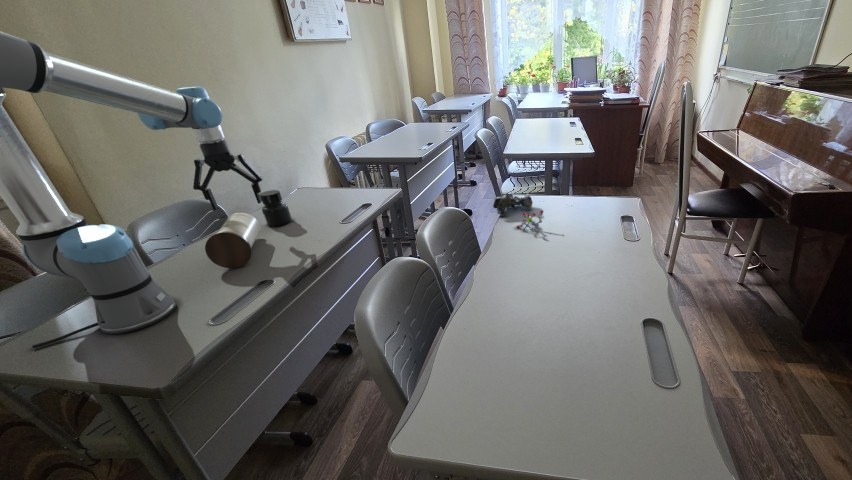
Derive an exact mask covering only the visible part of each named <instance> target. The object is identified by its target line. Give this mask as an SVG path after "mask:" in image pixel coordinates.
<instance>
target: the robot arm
mask: <svg viewBox="0 0 852 480" xmlns="http://www.w3.org/2000/svg"><path fill="white" fill-rule="evenodd" d="M4 89H11V90H18V91H22V92H27V93H30V94H39V93H41V92H44V91H45V92H47V93H48V92H49V93H53V94H56V95H57V94H58V95H62V96H65V97H69V98H74V99H78V100H82V101H86V102H90V103H95V104H99V105H102V106H107V107H110V108H115V109H120V110H123V111H128V112H131V113H136V114H137V116H138V118H139V120H140V121H141V122H142V124H143V125H144V126H145V127H146V128H148V129H149V130H152V131H160V130H166V129H173V128H174V129H175V128H176V129H178V128H180V129H182V128H183V129H189V128H191V129H192V132H193V134H194V137H195V139H196V141H197V142H198V143H199V144H198V146H199V148H200V151H201V153H202V156H203V158H199V157H197V158H195V159H194V160H193V163H194V167H195V170H194V178H193V186H192V188H193V190H195V191H201V192H202V195H203V197H204V199H205V200H206V201H209V203H210V206H211V207H212V209H213V211H215V210H216V211H217V209H218V208H219V206H218V203H217V200H216V199H215V196H214V194H213V192H212V189H211V188H209V187H208V186H209V184H210V183H211V180H212V178H213V176H214V174H215V173H216V172H218V173H219V172H223V171H225V172H227V171H231V170H232V171H233V172H235V173H236V174H238V175H240V176H241V177H242V178H244V179H246V180H247V181H249V182H250V183H251V185H250V187H251V189H252V191H253V194H254V196H255V199H256V201H257V204H261V203H262V200H261V197H260V193H262V188H261V186H260V183H261V182H262V181H263V180H264V177H263V176H262V175H261V174H260V173H259V171H258V170H256V168H255V167H254V166H253V165H252V164H250V162H249V161H248V160H247V159H246V157H245V155H244V153H239V154H236V155H233V154H232V152H231V149H230V147H229V144H228V141H227V140H226V136H225V133H224V131H223V129H222V126H221V123H222V121H223V113H222V109H221V108H220V106H219V105H218V104H217V102H215V101H214V100H212V99H211V98H210V95H209V93H208V91H207V90H206V88H205V87H204V86H199V85H198V86H185V87H178V88H177V89H176V91H173V90H170V89H167V88H164V87H161V86H157V85H154V84H151V83H148V82H145V81H141V80H138V79H135V78H132V77H129V76H126V75H122V74H119V73H117V72H116V73H115V72H112V71H110V70H106V69H103V68H99V67H97V66H93V65H91V64H86V63H84V62H80V61H77V60H74V59H71V58H68V57H64V56H61V55H57V54H54V53H51V52H48V51H45V50H44V49H43V47H42V46H41V45H39V43H37V42H34V41H31V40H27V39H24V38H21V37H18V36H15V35H12V34H10V33H6V32H4V31H0V197H1V199H2V200H3V202H4V204H5V205H6V206H7V207H8V208H9V210H10V211H11V213H12V214H13V215H14V217H15V218H16V220H17V221H18V223H19V225H18V227H17V229H16V231H15V233H16V235H17V236H18V238H19V239H20V241H21V242H22V245H21V250H22V254H23V257H24V258H25V260H26V261H27V262H28V263H29V264H30V265H31V266H33V267H34V268H36V269H38V270H40V271H42V272H44V273H47V274H50V275H52V276H53V275H54V276H59V277H65V278H71V279H75V280H79V281H80V282H81V284H82V285H83V287H84V288H85V290H86V291H87V292H88V294H89V296H90V297H91V298H92V300H93V302H94V309H95V315H96V322H95V323H92V324H90V325H87V326H84V327H81V328H79V329H77V330H76V329H75V330H74V331H71V332H68V333H66V334H63V335H61V336H58V337H55V338H52V339H49V340H46V341H41V342H39V343H35V344H32V345H31V347H32V349H35V348H39V347H42V346H45V345H49V344H52V343H56V342H59V341H61V340H64V339H66V338H69V337H71V336H74V335H76V334H79V333H82V332H84V331H87V330H90V329H92V328H95V327H99V328H100V330H101V331H102V332H103V333H105V334H109V335H119V334H120V335H121V334H126V333H130V332H135V331H138V330H141V329H144V328H146V327H150V326H151V325H154V324H157V323H158V322H160V321H161V320H163V319H165V318H167V317H168V316H169V315H171V314H172V313H173V311H175V309H176V308H177V307H176V306H177V303H176V301H175V299H174V298H173V297H172V296H171V294H170V293H168V292H167V291H166V290H165V289H164V288H162V287H161V286H160V285H159V284H158V283H156V282H155V280H154V279H153V277H152V276H151V274H150V272H149V271H148V269H147V267H146V265H145V264H144V262H143V260H142V258H141V257H140V255H139V252H138V251H137V249H136V247H135V245H134V242H133V240H132V239H131V238H130V237H129V236H128V234H127V232H126V231H125V230H124V229H123V228H121V227H120V226H117V225H114V224H103V223H101V224H100V223H99V224H98V225H97V224H90V225H89V224H88V222H87V221H86V219H85V217H84V216H83V215H82V214H79V213H76V212H72V211H71V210H70V209H69V207H68V206H67V204H66V203H65V201H64V199H63V198H62V196H61V195H60V193H59V192H58V190H57V189H56V187H55V185H54V184H53V182H52V181H51V179H50V177H49V176H48V174H47V173H46V172H45V169H44V167H42V165H41V164H40V161H39V160H38V159H37V157H36V155H35V154H34V152H33V151H32V150H31V148H30V146H29V145H28V143H27V142H26V140H25V138H24V137H23V135H22V134H21V132H20V131H19V129H18V128H17V126H16V124H15V123H14V122H13V120H12V118H11V117H10V115H9V114H8V112H7V110H6V109H5V108H4V106H3V102H4V100H5V98H6V97H7V93H6V91H5V90H4ZM235 161H236V162H239V163H240V164H241V165H242V166H243V167H244V168H245V169H246V170H247V171H248V172H247V171H246V170H245V169H242V168H241V167H240V166H239V165H238V164H236V163H235ZM205 164H206V166H209V169H208V171H207V174H206V175H205V177H204V180H203V182H202V184H201V179H202V172H203V166H205Z"/></svg>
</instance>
